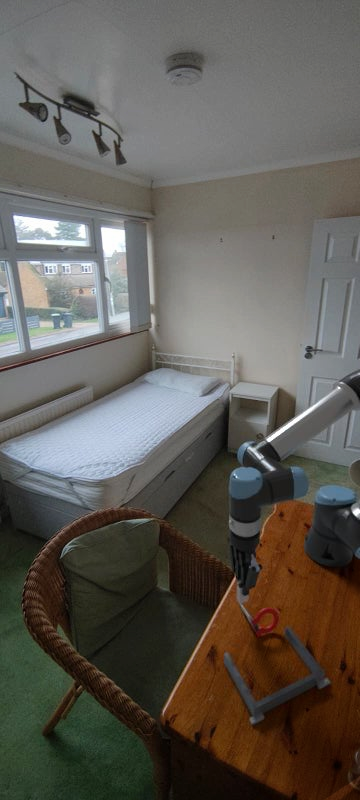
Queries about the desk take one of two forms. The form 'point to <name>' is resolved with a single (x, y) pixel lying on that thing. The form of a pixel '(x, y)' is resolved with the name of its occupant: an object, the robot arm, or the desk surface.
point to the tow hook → (257, 619)
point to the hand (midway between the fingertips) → (242, 600)
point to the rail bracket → (285, 693)
